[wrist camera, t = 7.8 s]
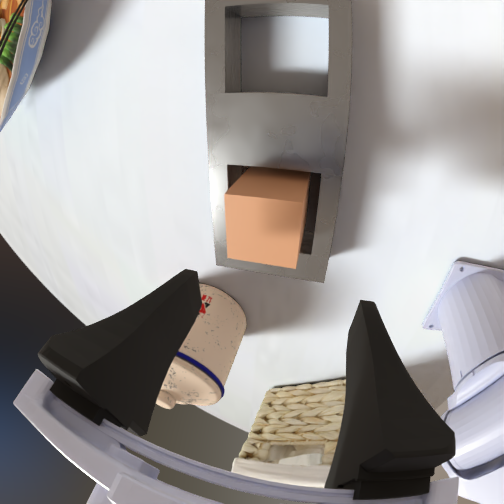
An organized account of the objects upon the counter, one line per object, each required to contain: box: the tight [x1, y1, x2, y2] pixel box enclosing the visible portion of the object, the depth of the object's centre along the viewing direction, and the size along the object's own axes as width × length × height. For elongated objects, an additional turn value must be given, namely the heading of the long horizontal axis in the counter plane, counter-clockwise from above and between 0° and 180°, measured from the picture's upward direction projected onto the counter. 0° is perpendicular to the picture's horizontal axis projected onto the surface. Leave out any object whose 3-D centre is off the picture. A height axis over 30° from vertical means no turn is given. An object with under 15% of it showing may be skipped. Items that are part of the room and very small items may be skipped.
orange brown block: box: [224, 166, 311, 269], centre depth 17 cm, size 4×4×6 cm
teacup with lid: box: [156, 284, 247, 409], centre depth 25 cm, size 12×9×12 cm
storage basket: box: [231, 379, 346, 488], centre depth 30 cm, size 24×16×15 cm
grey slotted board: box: [205, 0, 352, 283], centre depth 15 cm, size 20×8×3 cm, turn 0°
